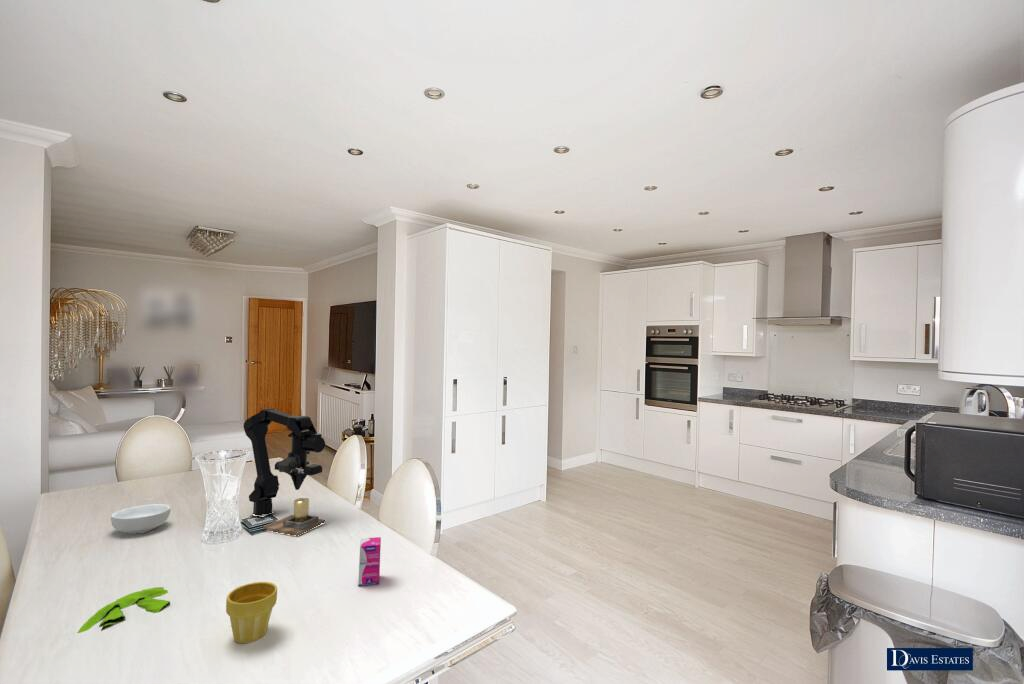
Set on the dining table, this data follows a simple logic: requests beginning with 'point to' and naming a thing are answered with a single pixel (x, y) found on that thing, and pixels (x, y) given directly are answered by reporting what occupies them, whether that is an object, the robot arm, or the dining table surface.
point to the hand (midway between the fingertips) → (297, 489)
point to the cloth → (126, 601)
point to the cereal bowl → (140, 518)
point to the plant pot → (251, 610)
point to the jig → (293, 525)
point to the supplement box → (369, 561)
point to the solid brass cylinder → (301, 510)
